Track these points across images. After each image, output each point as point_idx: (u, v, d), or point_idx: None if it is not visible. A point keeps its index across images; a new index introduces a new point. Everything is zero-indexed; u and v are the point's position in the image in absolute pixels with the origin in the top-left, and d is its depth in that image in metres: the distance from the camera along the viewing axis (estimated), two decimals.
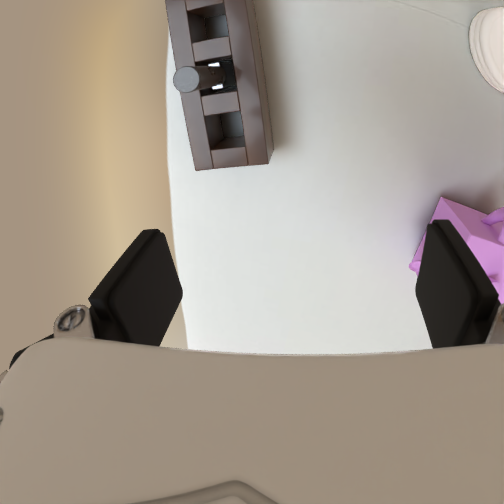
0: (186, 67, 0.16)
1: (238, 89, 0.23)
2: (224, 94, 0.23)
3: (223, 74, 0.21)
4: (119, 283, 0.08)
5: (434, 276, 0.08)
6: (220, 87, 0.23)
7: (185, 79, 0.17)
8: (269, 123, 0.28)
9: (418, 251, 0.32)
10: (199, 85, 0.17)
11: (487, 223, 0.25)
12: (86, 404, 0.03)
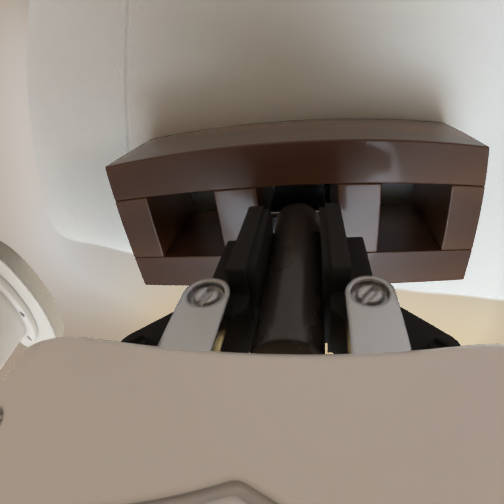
0: None
1: (334, 181, 0.11)
2: (341, 210, 0.12)
3: (296, 213, 0.11)
4: (253, 254, 0.08)
5: None
6: None
7: None
8: (401, 122, 0.13)
9: None
10: (311, 334, 0.07)
11: None
12: (86, 404, 0.03)
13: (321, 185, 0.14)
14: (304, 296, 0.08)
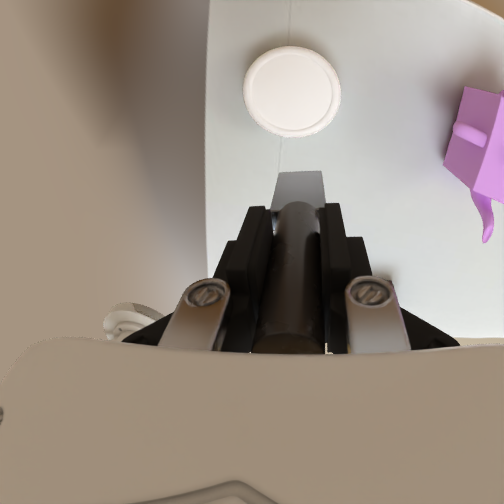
0: (254, 352, 0.07)
1: None
2: None
3: (296, 211, 0.12)
4: (253, 254, 0.08)
5: None
6: None
7: None
8: None
9: None
10: (311, 328, 0.07)
11: None
12: (86, 404, 0.03)
13: (321, 184, 0.15)
14: (304, 291, 0.08)
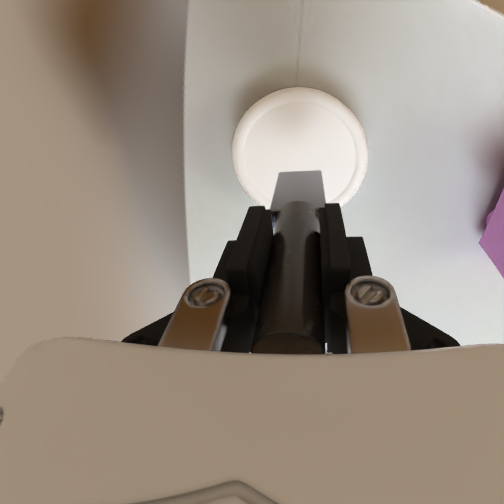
0: (254, 351, 0.07)
1: None
2: None
3: (296, 210, 0.12)
4: (253, 254, 0.08)
5: None
6: None
7: None
8: None
9: None
10: (311, 328, 0.07)
11: None
12: (86, 404, 0.03)
13: (321, 183, 0.15)
14: (304, 291, 0.08)
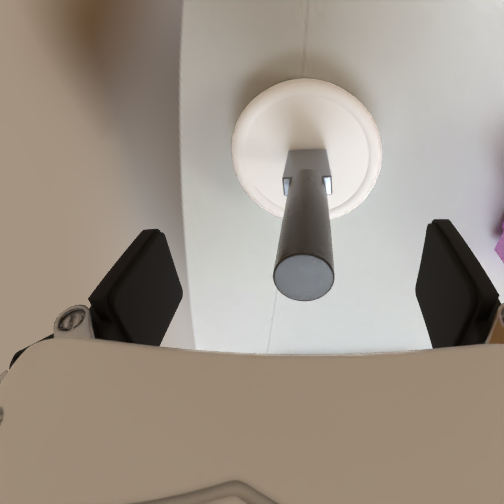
0: (276, 275, 0.09)
1: None
2: None
3: (306, 175, 0.13)
4: (119, 283, 0.08)
5: (434, 276, 0.08)
6: (329, 181, 0.14)
7: (303, 280, 0.09)
8: None
9: None
10: (323, 252, 0.09)
11: None
12: (86, 404, 0.03)
13: (326, 158, 0.16)
14: (316, 228, 0.10)
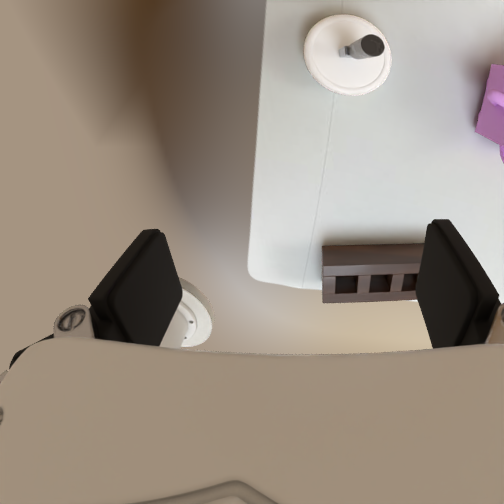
0: (362, 43, 0.17)
1: (392, 273, 0.40)
2: (392, 280, 0.40)
3: None
4: (119, 283, 0.08)
5: (434, 276, 0.08)
6: None
7: (372, 45, 0.17)
8: (412, 247, 0.41)
9: None
10: None
11: (497, 103, 0.24)
12: (86, 404, 0.03)
13: None
14: None
